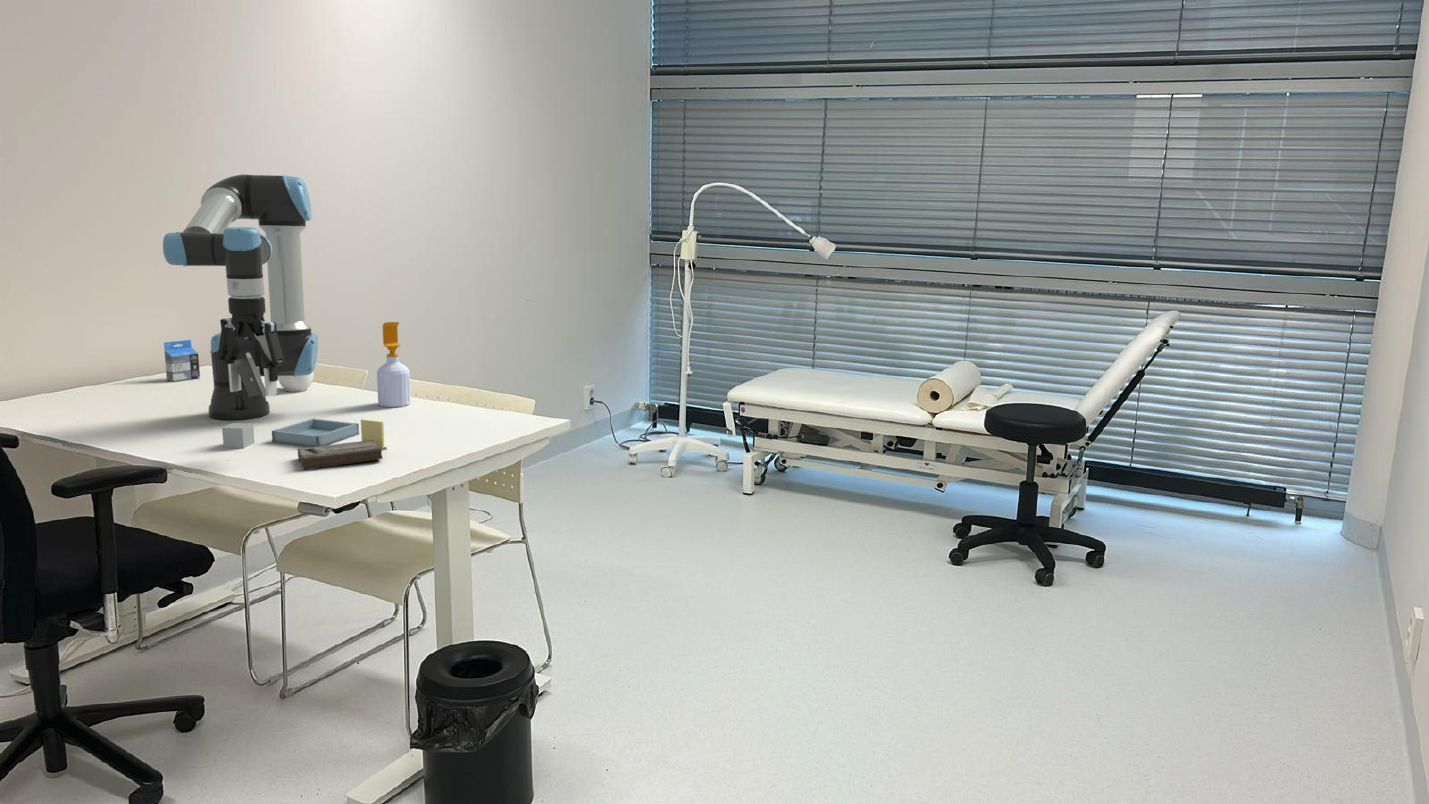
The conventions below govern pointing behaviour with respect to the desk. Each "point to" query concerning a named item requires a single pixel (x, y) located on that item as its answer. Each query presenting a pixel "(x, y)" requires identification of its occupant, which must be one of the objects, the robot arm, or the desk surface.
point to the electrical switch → (250, 376)
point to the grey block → (238, 435)
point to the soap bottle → (393, 373)
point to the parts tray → (315, 432)
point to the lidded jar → (296, 382)
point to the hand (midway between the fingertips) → (253, 392)
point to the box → (338, 454)
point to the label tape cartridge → (181, 361)
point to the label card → (373, 432)
